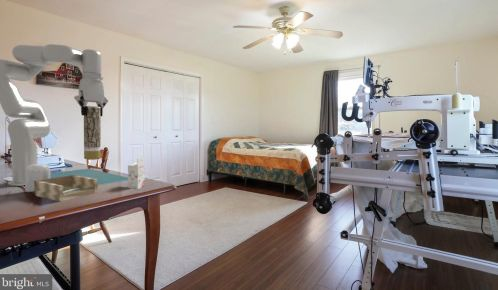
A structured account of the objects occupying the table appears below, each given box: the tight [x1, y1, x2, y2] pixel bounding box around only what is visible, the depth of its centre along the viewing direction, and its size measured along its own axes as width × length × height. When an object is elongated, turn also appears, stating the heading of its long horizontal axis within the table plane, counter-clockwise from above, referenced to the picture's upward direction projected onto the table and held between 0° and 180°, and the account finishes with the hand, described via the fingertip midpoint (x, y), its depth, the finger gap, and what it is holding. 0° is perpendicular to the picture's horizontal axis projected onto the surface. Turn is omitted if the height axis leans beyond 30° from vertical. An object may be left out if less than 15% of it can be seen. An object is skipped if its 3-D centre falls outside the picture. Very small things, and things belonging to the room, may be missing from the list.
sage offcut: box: [63, 188, 80, 194], centre depth 109 cm, size 3×10×2 cm
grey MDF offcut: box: [63, 189, 88, 195], centre depth 108 cm, size 3×10×2 cm, turn 161°
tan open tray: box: [33, 174, 99, 202], centre depth 109 cm, size 16×15×7 cm
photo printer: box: [24, 163, 52, 193], centre depth 114 cm, size 10×4×12 cm, turn 81°
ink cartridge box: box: [127, 157, 146, 190], centre depth 128 cm, size 9×5×15 cm, turn 0°
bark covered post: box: [83, 105, 102, 161], centre depth 124 cm, size 7×7×25 cm
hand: (92, 115), depth 123 cm, fingers closed on bark covered post, 6 cm apart
